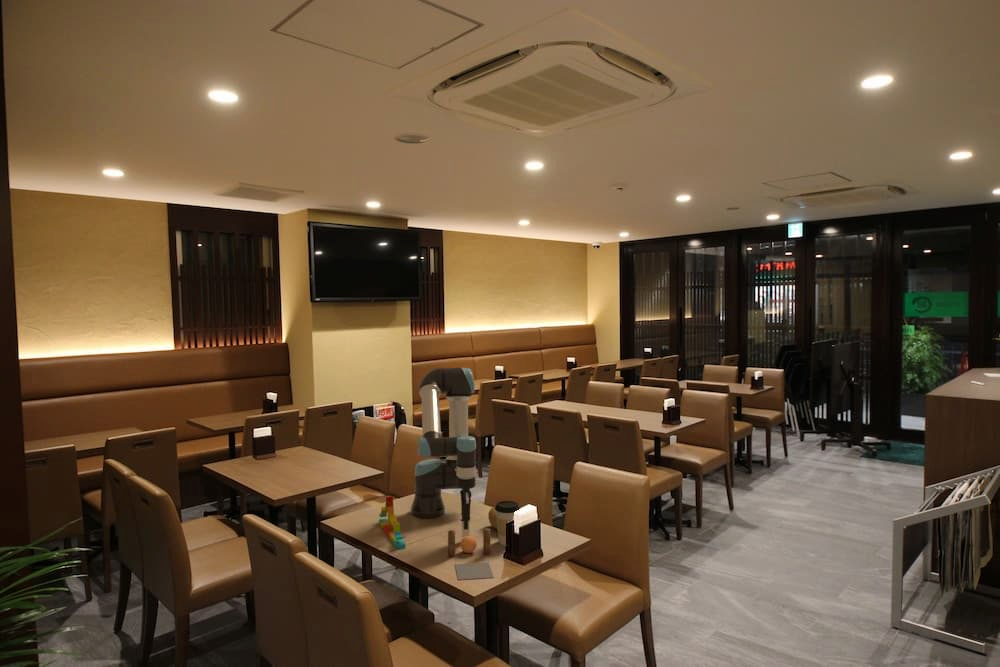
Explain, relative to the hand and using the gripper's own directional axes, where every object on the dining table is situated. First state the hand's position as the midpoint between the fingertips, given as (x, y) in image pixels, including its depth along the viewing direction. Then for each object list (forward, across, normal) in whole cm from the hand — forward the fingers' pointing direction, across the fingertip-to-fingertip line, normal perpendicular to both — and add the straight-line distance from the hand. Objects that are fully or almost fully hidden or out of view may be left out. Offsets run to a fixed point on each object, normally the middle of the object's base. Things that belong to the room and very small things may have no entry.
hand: (465, 536), depth 229 cm
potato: (+2, -11, +16) cm, 20 cm away
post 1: (+2, +13, -6) cm, 15 cm away
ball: (-1, +11, 0) cm, 11 cm away
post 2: (+2, +13, +7) cm, 15 cm away
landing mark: (+2, +27, 0) cm, 27 cm away
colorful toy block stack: (+3, -11, -28) cm, 31 cm away
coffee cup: (+2, +3, +16) cm, 16 cm away
